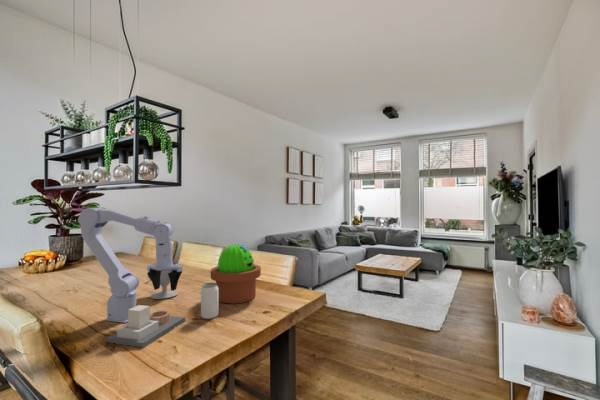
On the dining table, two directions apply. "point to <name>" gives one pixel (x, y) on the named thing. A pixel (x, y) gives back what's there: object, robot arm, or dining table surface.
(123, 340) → the socket board
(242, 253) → the potted cactus
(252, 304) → the dining table surface
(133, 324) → the square peg
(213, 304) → the can
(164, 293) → the chalice
